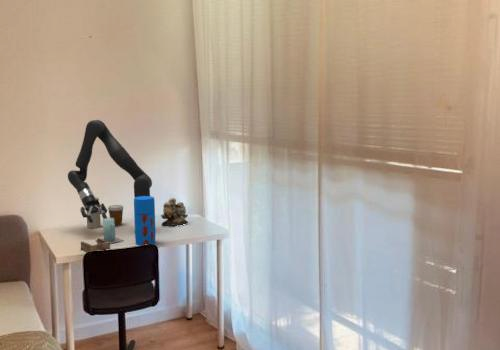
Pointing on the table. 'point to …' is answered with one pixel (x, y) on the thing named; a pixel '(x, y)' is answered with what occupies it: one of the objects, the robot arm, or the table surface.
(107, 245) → the cradle
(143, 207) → the thermos
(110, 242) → the mat
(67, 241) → the table surface
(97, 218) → the travel mug
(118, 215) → the disposable coffee cup
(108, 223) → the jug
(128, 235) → the table surface
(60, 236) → the table surface
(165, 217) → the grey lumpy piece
